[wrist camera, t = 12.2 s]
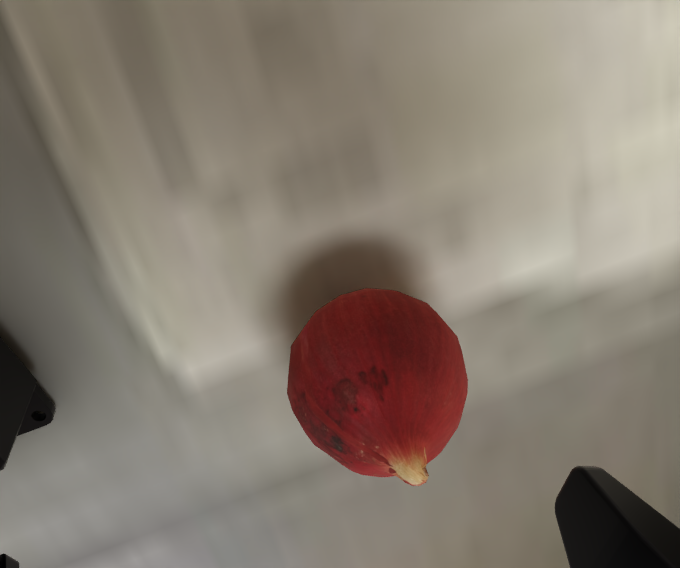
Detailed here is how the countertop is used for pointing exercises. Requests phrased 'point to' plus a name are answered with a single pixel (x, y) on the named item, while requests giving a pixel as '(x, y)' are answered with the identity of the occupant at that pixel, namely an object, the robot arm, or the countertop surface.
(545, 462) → the countertop surface
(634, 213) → the countertop surface
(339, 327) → the onion
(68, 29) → the countertop surface
